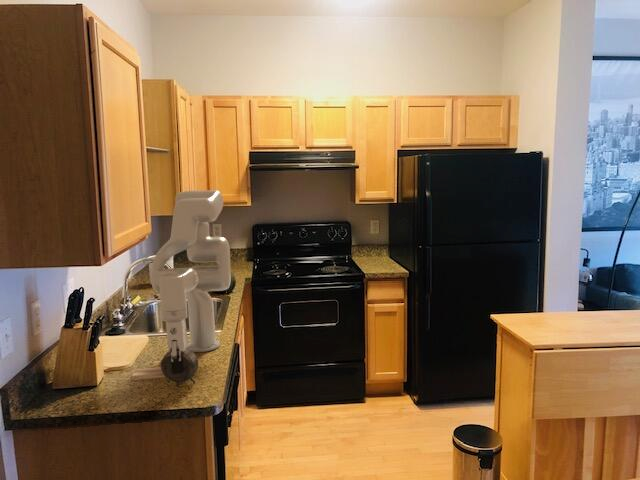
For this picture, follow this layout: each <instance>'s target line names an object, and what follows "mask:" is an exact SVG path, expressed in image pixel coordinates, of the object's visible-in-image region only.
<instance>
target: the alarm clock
mask: <svg viewBox="0 0 640 480" xmlns="http://www.w3.org/2000/svg"><path fill="white" fill-rule="evenodd" d="M177 351H179V349H177ZM195 353H196V352H193V351H192V350H190V349H189V348H187V347H186V350H185V351H184V352H183V351H181V360H182V363H183V373H178V374H172V365H171V353H170V352H169V351H167V352H166V353H165V354H164V355H163V356H162V358H161V361H160V367H161V370H162V372H163V374H164V376H165V377H164V378H166V380H167V383H170V382H172V383H175V384H176V385H175V387H176V388H179V384H182V383H186V382H188V381H189V380H190V381H191V382H192V384H196V381H195V379H193V376H194V375H195V374H196V372H197V371H198V368H199V360H198V357H197V355H196V354H195ZM177 355H178V356H179V353H177Z"/></svg>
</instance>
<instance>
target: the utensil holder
mask: <svg viewBox="0 0 640 480" xmlns="http://www.w3.org/2000/svg"><path fill="white" fill-rule="evenodd" d="M155 256H156V255H151V256H147V259H148V258H155ZM166 263H167V264H168V265H169V266H170V267H171V268H175V267H174V256H172V257H171V258H170V259H169V260H168V261H167V262H166ZM152 268H153V263H149V262H148V269H149V270H148V271H149V282H151V275H152ZM164 269H165V268H164Z"/></svg>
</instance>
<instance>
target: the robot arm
mask: <svg viewBox="0 0 640 480" xmlns="http://www.w3.org/2000/svg"><path fill="white" fill-rule="evenodd" d="M174 198H175V199H174V202H175V205H174V206H173V207H174V208H173V214H172V223H171V231H170V232H171V233H170V238H169V239H168V240H167V242H165V243H164V244H163V245H162V247H160V248H159V250H158V252H157V253H156V256H155V258H154V261H153V268H152V275H151V283H150V285H151V284H152V286H151V287H152V289H153V290H154V291H156V292H157V293H159V297H160V299H159V300H160V307H161V308H160V309H161V320H162V321H163V322H165V324H166V340H167V341H166V343H167V350H168V351H169V352H170V353H171V365H172V374H178V373H183V363H182V360H181V351H183V352H184V351H185V350H186V348H189V349H190V350H192V351H193V352H194V353H204V352H211V351H213V350H216V349H217V348H219V347H220V345H221V341H220V340H219V339H218V338H216V325H215V324H216V323H215V308H214V300H213V298H212V297H211V295H210V293H208V292H213V291H221V290H226V289H228V288H229V286H230V282H231V273H232V271H231V248H230V247H231V246H230V243H229V241H228V240H227V238H226V237H222V236H210V235H211V234H210V224H209V223H212V222H215V221H216V220H217V219H218V217H219V215H220V214H221V212H222V211H223V208H224V197H223V195H222V192H220V191H219V190H217V189H211V190H209V189H208V190H205V189H204V190H184V191H180V192H177V194H175V196H174ZM184 251H186V255H187V258H188V260H189V262H192V263H216V265H194V266H191V267H180V268H178V267H177V268H175V267H174V268H168V269H164V266H165V264H166V262H167V261H168V260H169V259H170V258H171V257H172V256H173V257H174V256H175V255H177V254H179V253H181V252H184ZM187 318H188V326H189V327H188V328H189V340H190V341H189V340H188V330H187V324H186V319H187ZM177 349H179V351H177ZM168 351H167V352H168ZM177 353H179V356H178V355H177Z"/></svg>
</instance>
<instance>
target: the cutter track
mask: <svg viewBox="0 0 640 480" xmlns="http://www.w3.org/2000/svg"><path fill="white" fill-rule="evenodd" d="M131 378H132V379H131V380H132V381H137V380H146V379H147V380H148V379H158V378H166V377H165V376H164V374H163V372H162V370H161V366H159V367H148V368H138V369H134V371H133V373H132V375H131Z"/></svg>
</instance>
